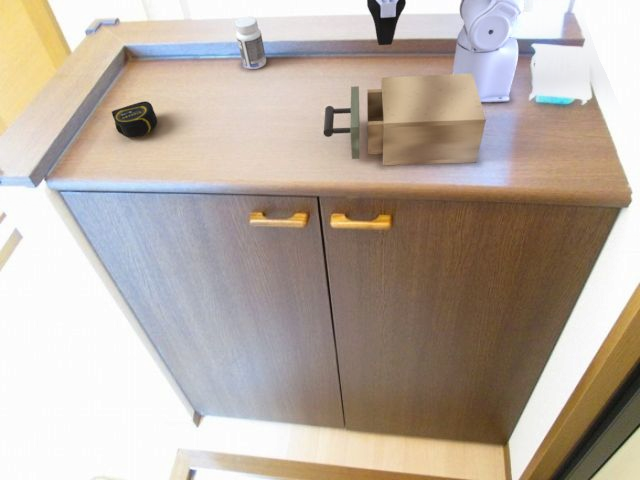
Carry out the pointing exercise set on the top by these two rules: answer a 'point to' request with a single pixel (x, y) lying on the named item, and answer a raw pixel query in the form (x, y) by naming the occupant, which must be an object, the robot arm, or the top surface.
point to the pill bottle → (250, 43)
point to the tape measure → (135, 119)
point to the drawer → (373, 122)
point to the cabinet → (431, 119)
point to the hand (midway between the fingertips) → (384, 42)
